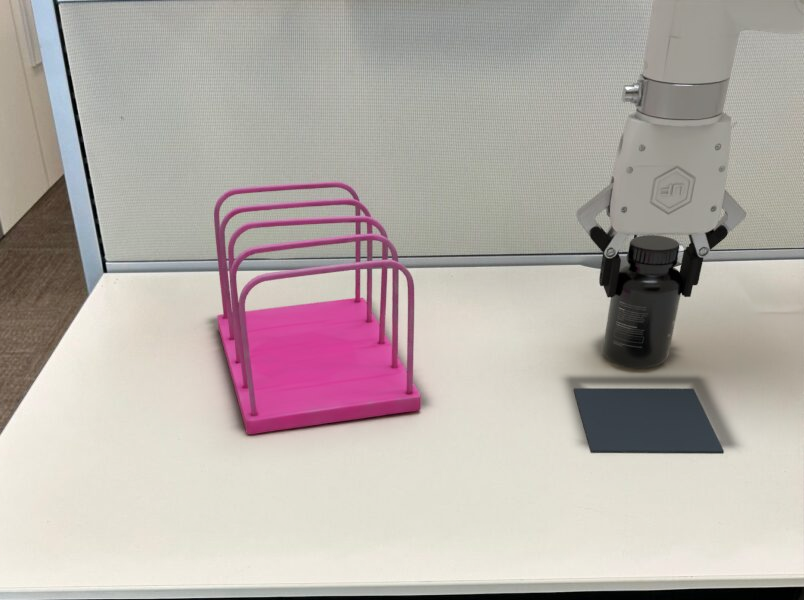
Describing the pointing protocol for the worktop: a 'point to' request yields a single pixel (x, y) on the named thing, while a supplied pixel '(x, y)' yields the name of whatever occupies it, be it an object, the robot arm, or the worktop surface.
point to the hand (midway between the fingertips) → (646, 290)
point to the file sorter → (314, 330)
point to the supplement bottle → (644, 304)
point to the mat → (645, 420)
